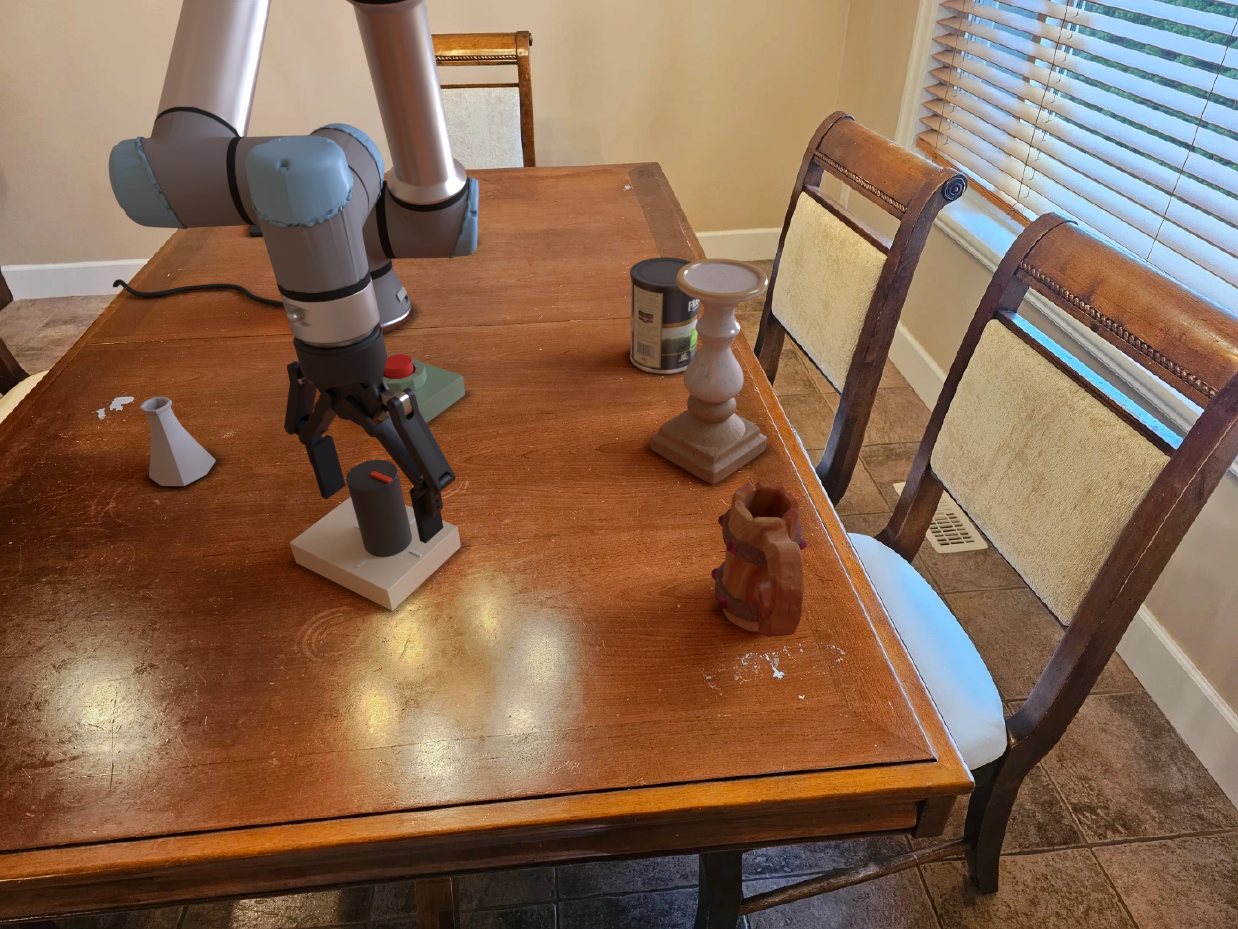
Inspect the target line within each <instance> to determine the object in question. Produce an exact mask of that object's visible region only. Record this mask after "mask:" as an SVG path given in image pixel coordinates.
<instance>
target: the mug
mask: <svg viewBox="0 0 1238 929" xmlns="http://www.w3.org/2000/svg"><path fill="white" fill-rule="evenodd" d="M799 519H800V503H799V500H798V499H797V498H796V497H794V495H793V494H792V493H790V492H787V490H786V489H785V487H784V486H782V485H780V484H777V483H773V482H768V481H763V480H759V481H757V482H756V484H753V483H751V482H750V481H747V482H746V483H745V484H743V485H742V486H740V487H739V488H737V490H735V492H734V493H733V495H732V498H731V505H730V508H728V510H727V511H726V512H725V513H722V514H721V515H719V516H718V519H717V523H718V524H719V526H721V528H722V530H721V531H722V532H721V534H722V540H723V543H724V545H725V557H724V561H722V563H721V564H720V565H719V566H718V567H716V568H713V569H712V570H711V573H710V575H711V578H712V579H713V581H714V594H715V597H716V599H717V604H718V606H719V607H720V608H721V609H722V611H723V614H724V616H725V617H726V619H727V620H728V621H729V622H731V623H732V624H734V625H736V626H737V627H739V628H741V629H744V630H746V631H748V632H755V633H760V634H761V635H762V636H764V637H767V638H773V637H783V636H784V637H785V636H791V635H794V634H795V633H796V631H797V629H798V627H799V625H800V621H801V618H802V613H803V600H804V593H805V581H804V560H803V556H802V551H803V550H805V549H806V548H807V546H808V543H807V541H806V539H805V538H804V537H803V527H802V524H801V522H800V520H799Z"/></svg>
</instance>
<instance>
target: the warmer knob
mask: <svg viewBox="0 0 1238 929" xmlns="http://www.w3.org/2000/svg"><path fill="white" fill-rule="evenodd" d="M345 478H346V481H345V482H346V484H347V488H348V492H349V495H350V496H349V497H351V499H352V503H353V507H354V511H355V514H356V518H357V522H358V525H359V529H360V533H361V536H362V540H363V544H364V547H365V549H366V551H367V552H368V553H370V554H372V555H374V556H379V557H387V556H392V555H395V554H398V553H400V552H402V551H403V550H405V549H406V548H407V547H408V546H409V544H410V543H411V540H412V534H411V529H410V525H409V520H408V515H407V511H406V506H405V505H406V502H405V498H404V493H403V489H402V484H401V480H400V474H399V470H398V466H397V465H396V464H394V463H393V462H391V461H389V460H385V459H370V460H366V461H363V462H360V463H358V464H356V465H355V466H353V467H352V468H351V469H350V470H349V471H348V473H347V475H346V477H345Z"/></svg>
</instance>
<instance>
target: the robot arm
mask: <svg viewBox="0 0 1238 929" xmlns="http://www.w3.org/2000/svg"><path fill="white" fill-rule="evenodd" d="M345 1H346V2H348V3H349V4H351V5H352V7H353V10H354V11H353V12H354V15H355V19H356V23H357V26H358V31H359V34H360V39H361V43H362V48H363V50H364V54H365V59H366V63H367V67H368V71H369V75H370V79H371V83H372V86H373V90H374V95H375V98H376V103H377V106H378V110H379V114H380V118H381V122H382V126H383V131H384V134H385V138H386V142H387V147H388V151H389V156H390V158H391V159H390V160H391V163H392V166H391V168H390V169H389V171H388V172H387V175H386V180H384V179H385V171H386V170H385V162H384V158H383V156H382V152H381V151H380V149H379V146H377V144H376V142H374V140H373V139H372V138H371V137H370V136H369V135H368V134H367V133H365V132H364V131H363V130H361V129H359V128H358V127H356V126H353V125H350V124H348V123H342V122H334V123H328V124H325V125H323V126H320V127H318V128H317V129H316V128H315V129H314V130H313V131H312V132H311V133H309V134H306V135H305V134H304V135H302V134H301V135H267V136H266V135H265V136H262V135H261V136H248V133H249V127H250V123H251V116H252V111H253V106H254V100H255V93H256V88H257V83H258V77H259V72H260V65H261V61H262V60H261V59H262V54H263V50H264V43H265V39H266V38H265V37H266V31H267V26H268V21H269V15H270V10H271V4H272V0H182V5H181V8H180V13H179V18H178V22H177V25H176V30H175V34H174V38H173V43H172V47H171V50H170V55H169V60H168V65H167V68H166V73H165V77H164V81H163V85H162V90H161V94H160V99H159V103H158V107H157V112H156V115H155V119H154V122H153V125H152V126H153V127H152V130H151V134H150V137H144V136H138V135H137V136H136V138H129V139H128V138H127V139H123V140H121V141H119V142H118V143H117V144H115V145H113V147H112V149H111V151H110V153H109V158H108V178H109V182H110V186H111V190H112V194H113V195H114V198H115V200H116V201H117V204H118V205H119V208H121V209H122V210H123V211H124V212H125V215H126V216H127V218H129V219H130V220H131V221H133V222H134V223H135V224H137V225H139V226H142V227H146V228H159V229H180V230H189V229H193V228H194V229H195V228H216V227H239V226H250V225H259V226H260V228H261V231H262V234H263V235H262V237H263V241H264V244H265V247H266V251H267V254H268V257H269V261H270V264H271V268H272V271H273V274H274V278H275V281H276V282H275V283H276V286H277V290H278V291H279V293H280V297H281V301H280V300H274V299H269V298H265V297H261V296H258V295H255V294H253V293H252V292H250V290H248V289H246V288H245V287H243V286H242V285H238V284H235V283H223V282H221V283H206V284H196V285H185V286H180V287H174V288H173V287H172V288H169V289H168V288H167V289H164V290H158V291H139V290H136V289H134V288H132V286H130V285H129V284H128V283H127V282H126V281H125V280H123V279H120V278H118V279H116V280H115V281H114V282H113V283H112V288H119V286H121V287H122V288H123V289H124V290H126V291H127V292H128V293H130V294H131V295H132V296H135V297H138V298H157V297H159V298H160V297H165V296H169V295H174V294H180V293H185V292H194V291H204V290H217V289H221V290H222V289H223V290H224V289H226V290H235V291H239V292H240V293H242V294H244V296H246V297H247V298H248V299H250V300H252V301H254V302H257V303H261V304H265V305H268V306H274V307H279V308H280V307H281V308H284V311H285V315H286V319H287V323H288V326H289V330H290V333H291V334H292V335H293V340H292V343H293V347H294V350H295V355H296V357H297V359H295V360H294V361H291V362H290V363H288V364H287V365H286V371H287V375H288V380H289V385H288V386H289V387H288V395H287V403H286V410H285V417H284V426H283V428H284V431H285V432H286V433H287V434H288V435H289V436H293V435H296V436H298V441H299V442H300V443H301V444H302V445H304V446H305V450H306V453H307V456H308V460H309V463H310V465H311V466H312V469H313V472H314V476H315V479H316V483H317V485H318V486H317V487H318V489H319V492H320V496H321V498H322V499H324V500H328V499H330V498H331V497H333V496H334V495H335V494H337V493H338V492H340V491H341V490H342V489H343V488H345V487H346V481H345V477H344V474H343V471H342V470H343V469H342V467H341V463H340V459H339V455H338V453H337V448H336V444H335V441H334V437H333V436H332V435H330V434H326V435H324V434H325V433H327V432H329V431H330V430H331V428H329V427H330V426H331V424H332V423H333V421H334V420H335V418H336V417H337V418H339V419H341V420H344V421H345V420H346V421H350V422H352V423H354V424H355V425H357V426H359V427H361V428H362V429H363V430H364V432H365V433H366V434H367V435H368V436H369V437H370V438H375V439H377V441H378V442H379V443H380V445H381V446H382V447H383V448H384V450H385V451H386V453H388V454H387V455H389V456H390V457H391V459H392V460H393V461H394V463H395V465H396V466H397V467H398V468H399V469H400V470H401V472H402V473H403V474H404V476H405V477H406V479H408V481H409V482H410V484H412V486H413V487H412V488H410V489H409V490H408V491H409V496H410V500H411V505H412V506H411V507H412V508H413V511H414V515H415V520H416V525H417V529H418V534H419V539H420V541H421V542H423V543H425V544H426V543H427V542H428V541H429V540H430V539H432V538H433V537H434V536H435V535H436V534H437V533H438V532H439V531H440V530H442V529H443V522H442V521H443V518H442V512H441V511H442V510H443V508H444V504H443V499H442V493H441V492H442V491H444V490H445V489H446V488H447V487H449V486H450V485H451V484H452V483H453V482H454V481H455V480H456V478H457V477H456V474H455V472H454V470H453V469H452V466H451V465H450V464H449V461H448V460H447V458H446V456H445V454H444V452H443V451H442V448H441V447H440V445H439V443H438V441H437V440H436V438H435V436H434V434H433V433H432V431H431V429H430V427H429V425H428V423H426V422H425V420H424V418H423V416H422V414H421V413H420V411H419V407H418V403H417V400H416V396H415V393H414V392H413V390H411V389H410V388H406V389H404V390H403V391H401V392H396V391H392V390H390V389H389V387H388V386H387V384H386V382H385V380H384V377H383V373H384V369H385V366H386V363H387V356H388V352H387V348H386V342H385V338H384V335H386V334H390V333H391V332H394V331H396V330H398V329H400V328H401V327H403V326H405V325H406V324H407V323H408V322H409V321H410V320H411V318H412V316H413V307H412V302H411V298H410V296H409V295H408V292H407V290H406V288H405V286H404V285H403V283H402V282H401V280H400V279H399V276H398V275H397V273H396V271H395V270H394V266H393V261H392V260H401V259H403V260H405V259H449V260H450V259H453V258H457V257H459V258H460V257H469V256H472V255H473V254H474V253H475V252H476V250H477V249H478V240H479V238H478V237H479V203H480V202H479V199H480V197H479V196H480V195H479V192H480V191H479V180H478V179H476V178H475V177H472V176H467V171H466V169H465V166H464V165H463V163H462V162H461V161H459V160H458V159H457V158H455V157H454V155H453V150H452V145H451V138H450V133H449V128H448V122H447V116H446V111H445V106H444V100H443V94H442V87H441V82H440V76H439V72H438V65H437V60H436V53H435V49H434V42H433V37H432V32H431V26H430V20H429V14H428V10H427V9H428V8H427V3H426V0H345ZM126 287H127V288H126ZM125 288H126V289H125ZM317 390H318V392H319V393H320V394H319V395H318V399H317V401H316V395H317ZM315 401H316V402H315ZM383 411H384V412H385V413H386V415H387V418H386V419H385V420H383V421H380V422H379V423H375V422H374V421H376V420H377V418H378V417H379V416H380V415H381V414H382V412H383ZM323 435H324V436H323Z"/></svg>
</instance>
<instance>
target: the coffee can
mask: <svg viewBox="0 0 1238 929" xmlns="http://www.w3.org/2000/svg"><path fill="white" fill-rule="evenodd" d="M691 262H692V261H690V260H687V259H684V258H679V257H668V256H664V257H663V256H661V257H659V256H658V257H652V258H647V259H644V260H640V261H639V262H636V263H635V264H633V265H632V266H631V267H630V269H629V277H630V353H629V359H630V361H631V363H632V365H633V366H634V367H636V368H638V369H640V370H641V371H644V372H647V373H651V374H658V375H672V374H678V373H682V372H685V370H686V368H687V366H688V364H689V363H690V361H691V360H692V359H693V358H694V357H695V356H696V354H697V350H698V349H697V348H698V347H697V346H698V335H699V334H698V333H697V331H696V323H697V322H698V321H699V319H700V318H699V316H700V303H701V301H700V300H698V299H695V298H692V297H690V296H688V295H687V294H685V293H684V292H682V291H681V290H680V288H679V287H678V285H677V282H676V276H677V273H678V271H679V270H680V269H681V268H682V267H683V266H685V265H687V264H689V263H691Z"/></svg>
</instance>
